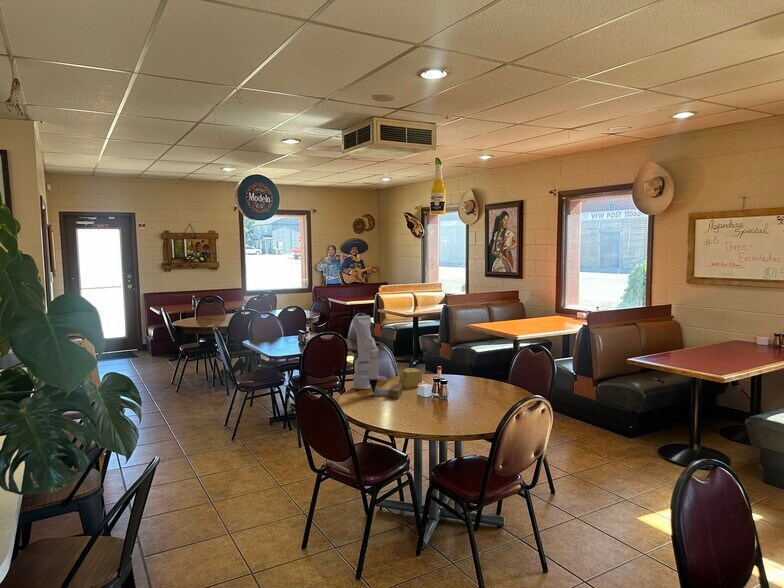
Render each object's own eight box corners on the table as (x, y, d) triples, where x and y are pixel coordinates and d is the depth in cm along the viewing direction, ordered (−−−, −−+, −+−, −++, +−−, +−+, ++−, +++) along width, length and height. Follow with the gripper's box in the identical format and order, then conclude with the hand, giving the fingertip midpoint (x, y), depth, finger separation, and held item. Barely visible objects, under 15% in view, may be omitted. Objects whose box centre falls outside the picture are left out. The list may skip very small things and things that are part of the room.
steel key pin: (374, 396, 312) (374, 389, 312) (376, 393, 318) (376, 386, 318) (396, 396, 310) (396, 389, 310) (398, 394, 316) (398, 387, 316)
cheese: (398, 384, 337) (398, 369, 336) (413, 382, 342) (413, 367, 341) (407, 388, 328) (407, 372, 327) (422, 386, 333) (422, 370, 332)
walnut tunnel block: (388, 398, 307) (388, 390, 306) (392, 392, 321) (392, 384, 320) (398, 399, 306) (398, 390, 305) (402, 392, 320) (402, 384, 319)
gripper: (359, 370, 311) (360, 393, 312) (384, 371, 309) (384, 394, 310) (362, 367, 318) (362, 390, 319) (386, 368, 316) (387, 391, 317)
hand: (373, 392), depth 315 cm, fingers closed
